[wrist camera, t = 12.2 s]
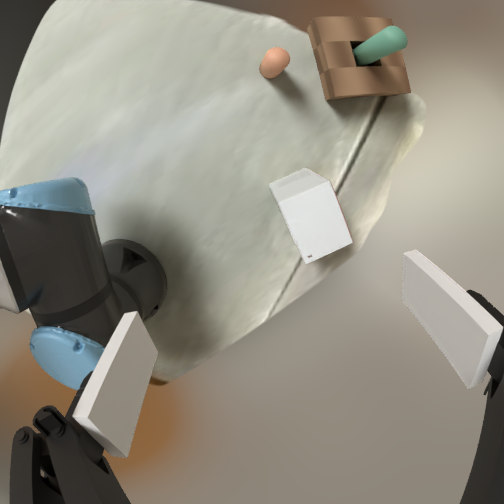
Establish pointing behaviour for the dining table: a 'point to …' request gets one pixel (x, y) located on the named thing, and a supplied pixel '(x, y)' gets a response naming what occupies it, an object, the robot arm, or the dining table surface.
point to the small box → (311, 213)
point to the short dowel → (274, 62)
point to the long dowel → (380, 46)
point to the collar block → (343, 63)
